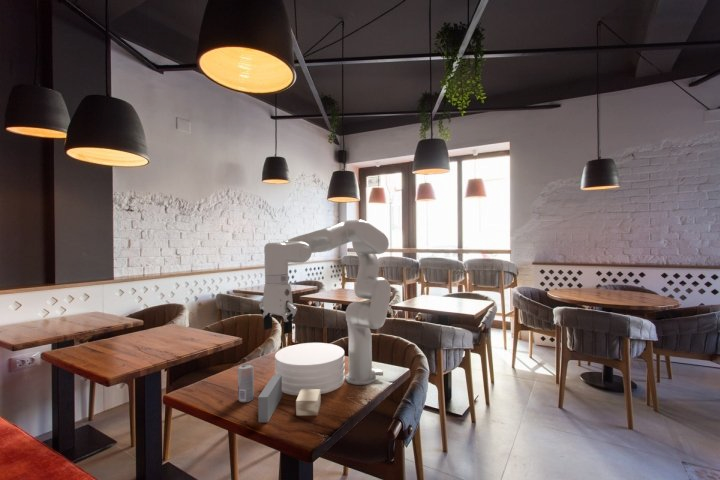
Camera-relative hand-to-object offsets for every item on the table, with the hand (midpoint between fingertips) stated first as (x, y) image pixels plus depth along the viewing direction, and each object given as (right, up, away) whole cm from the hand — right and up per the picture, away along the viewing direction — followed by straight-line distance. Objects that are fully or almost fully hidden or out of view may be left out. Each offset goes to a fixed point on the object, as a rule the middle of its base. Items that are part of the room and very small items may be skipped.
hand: (277, 330), depth 118 cm
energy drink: (-14, -28, +10) cm, 33 cm away
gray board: (-3, -27, +3) cm, 28 cm away
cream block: (+10, -27, +3) cm, 29 cm away
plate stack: (+7, -28, +27) cm, 39 cm away
